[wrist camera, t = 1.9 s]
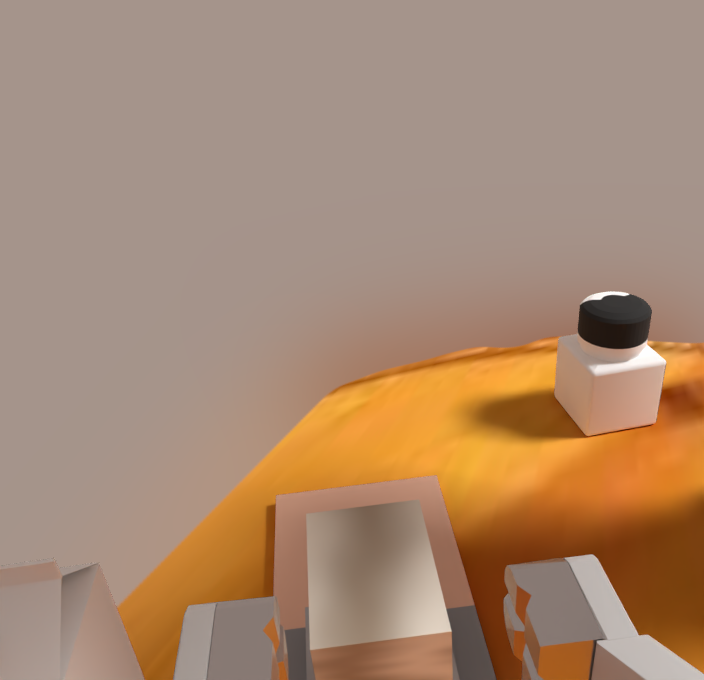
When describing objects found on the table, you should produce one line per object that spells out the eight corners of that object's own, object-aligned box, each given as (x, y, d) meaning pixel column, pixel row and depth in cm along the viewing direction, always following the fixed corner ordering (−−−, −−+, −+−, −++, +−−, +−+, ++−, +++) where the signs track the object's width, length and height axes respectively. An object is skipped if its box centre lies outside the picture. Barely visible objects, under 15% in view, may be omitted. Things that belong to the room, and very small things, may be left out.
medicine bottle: (657, 425, 62) (677, 311, 56) (585, 438, 61) (598, 325, 55) (618, 385, 68) (632, 279, 62) (552, 396, 67) (560, 290, 61)
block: (427, 665, 41) (419, 499, 34) (455, 804, 34) (451, 631, 28) (333, 677, 41) (305, 513, 34) (342, 820, 34) (309, 650, 27)
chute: (436, 483, 57) (435, 457, 56) (539, 837, 34) (542, 807, 32) (277, 504, 57) (272, 477, 55) (268, 875, 33) (259, 846, 32)
